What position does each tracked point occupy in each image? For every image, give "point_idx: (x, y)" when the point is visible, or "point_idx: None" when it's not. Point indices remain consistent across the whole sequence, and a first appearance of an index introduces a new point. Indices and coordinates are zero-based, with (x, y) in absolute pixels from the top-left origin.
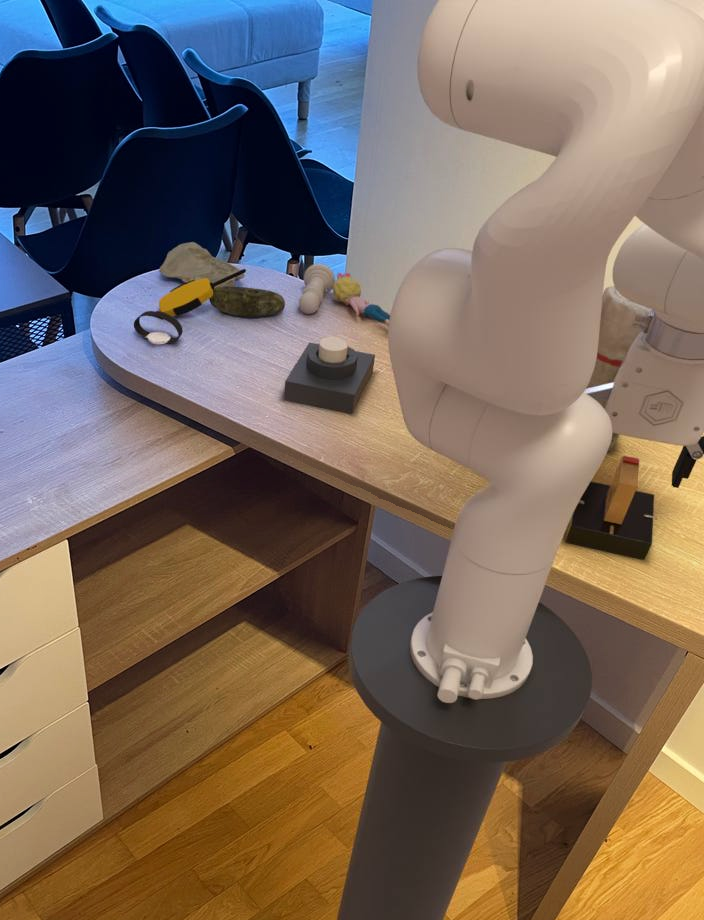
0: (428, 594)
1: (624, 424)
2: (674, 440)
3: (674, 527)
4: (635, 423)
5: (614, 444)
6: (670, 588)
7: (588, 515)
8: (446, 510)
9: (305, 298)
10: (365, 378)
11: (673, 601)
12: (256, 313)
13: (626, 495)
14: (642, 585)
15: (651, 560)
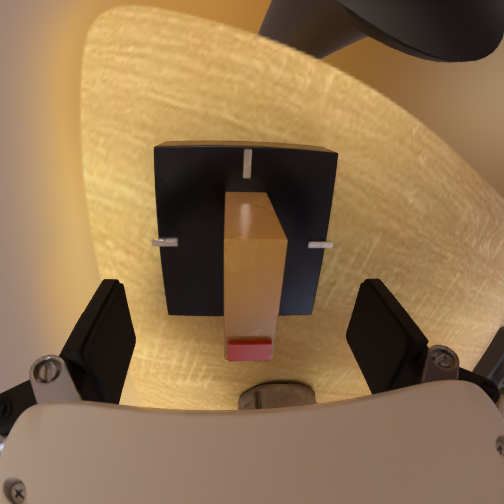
0: (471, 27)
1: (447, 432)
2: (114, 429)
3: (125, 263)
4: (409, 468)
5: (239, 402)
6: (116, 79)
7: (299, 203)
8: (477, 190)
9: None
10: (485, 370)
11: (113, 46)
12: (501, 391)
13: (244, 222)
14: (167, 63)
15: (151, 147)
